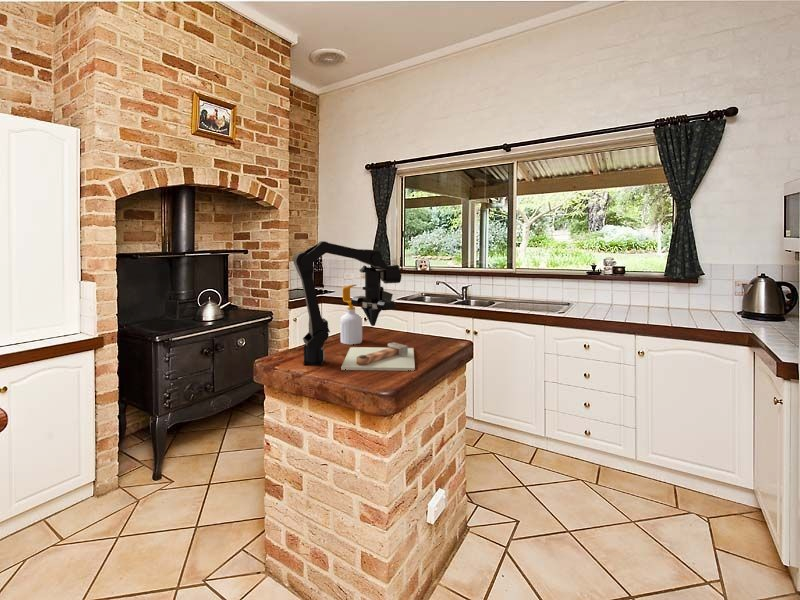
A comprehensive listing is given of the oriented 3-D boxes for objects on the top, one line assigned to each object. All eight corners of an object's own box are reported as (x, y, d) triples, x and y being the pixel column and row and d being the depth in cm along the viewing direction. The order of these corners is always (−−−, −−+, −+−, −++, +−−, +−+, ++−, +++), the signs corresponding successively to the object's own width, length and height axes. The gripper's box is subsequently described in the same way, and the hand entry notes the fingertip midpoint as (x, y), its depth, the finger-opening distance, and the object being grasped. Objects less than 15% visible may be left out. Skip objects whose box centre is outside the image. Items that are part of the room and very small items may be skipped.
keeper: (401, 360, 165) (401, 347, 164) (387, 355, 170) (387, 343, 170) (407, 358, 167) (407, 346, 166) (393, 354, 173) (393, 342, 172)
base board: (341, 369, 153) (341, 367, 153) (350, 349, 179) (350, 347, 179) (414, 370, 153) (414, 367, 153) (413, 350, 178) (413, 347, 178)
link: (362, 365, 154) (362, 358, 153) (353, 363, 156) (353, 356, 156) (404, 352, 170) (404, 346, 170) (395, 350, 173) (396, 344, 173)
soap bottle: (352, 346, 184) (351, 286, 181) (336, 342, 190) (335, 284, 186) (366, 341, 191) (366, 284, 188) (350, 338, 197) (350, 282, 193)
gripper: (406, 284, 165) (406, 326, 167) (372, 280, 177) (372, 319, 180) (384, 287, 157) (384, 331, 159) (350, 282, 170) (350, 323, 172)
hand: (373, 325), depth 168 cm, fingers closed
